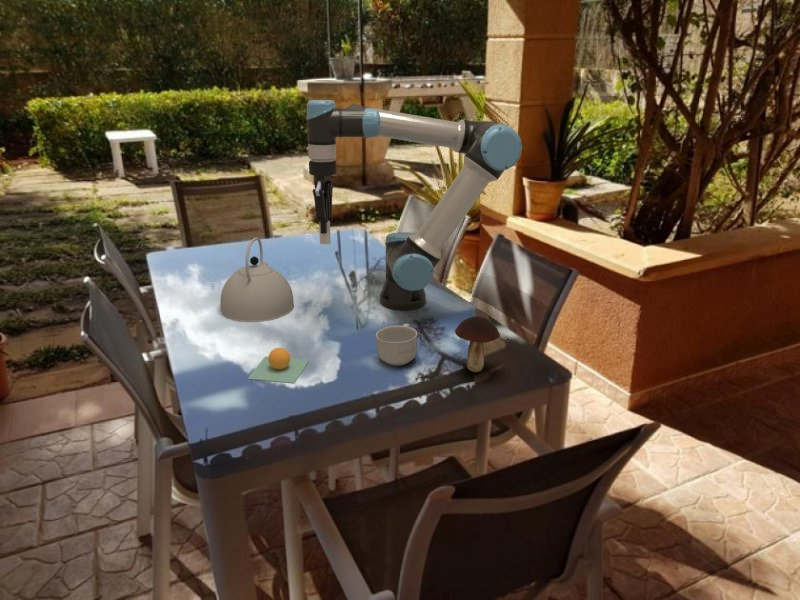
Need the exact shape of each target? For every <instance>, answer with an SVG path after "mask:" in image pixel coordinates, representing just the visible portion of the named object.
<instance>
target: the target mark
mask: <svg viewBox="0 0 800 600" xmlns="http://www.w3.org/2000/svg"><path fill="white" fill-rule="evenodd" d="M268 357H269V356H264V357H263V358H262V359H261V361H260V362H259V363H258V365H257V366H256V367H255V368H254V370H253V371H252V372H251V373H250V374H249V376H248V377H247V380H252V381H263V382H265V381H266V382H273V383H275V382H276V383H286V384H296V382H297V380H299V378H300V376H301V375H302V373H303V371H304V369H305V368H306V367H307V365H308V364H309V362H310V360H309V359H299V358H298V359H296V358H290V363H289V365H288V366H287V367H286V368H284V369H275V368H273V367H272V366H271V365H270V364H269V361H268Z"/></svg>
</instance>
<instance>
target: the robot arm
mask: <svg viewBox="0 0 800 600" xmlns="http://www.w3.org/2000/svg"><path fill="white" fill-rule="evenodd" d="M306 130H307V131H306V133H307V146H306V148H305V149H306V150H307V151H308V152H307V153H308V159H310V160H309V161H308V172H309V175H310V176H314V177H315V181H314V188H313V189H312V195H313V199H314V209H315V217H316V220H315V222H316V223H317V222H318V225H319V226H318V227H319V244H320V245H330V244H331V221H333V220H334V217H333V213H332V212H333V191H334V190H333V189H334V182H333V181H332V180H331V176H335V175H336V174H337V171H338V170H337V160H335V159H337V141H336V139H337V138H366V139H369V138H377V137H381V138H388V139H394V140H399V141H400V140H401V141H407V142H411V143H412V142H413V143H419V144H425V145H431V146H437V147H443V148H449V149H453V151H454V152H455V153H459V154H463V155H464V157H463V159H464V165H463V166H462V169H461V170H460V171H459V172H458V174H457V175H456V177H455V178H454V180H453V181H452V183H451V184H450V186H449V187H448V188H447V190H445V193H444V194H443V196H442V197H441V198H440V200H439V201H438V202H437V204H436V205H435V207H434V208H433V210H432V211H431V212H430V214H429V216H428V217H427V218H426V220H425V221H424V223H423V224H422V225H421V227H420V228H419V230H418V231H417V232H410V231H409V232H408V231H407V232H406V231H405V232H403V231H402V232H392V233H388V234H387V235H386V237H385V242H384V245H385V276H384V277H385V280H384V282H383V285H382V289H381V291H380V293H379V294H380V295H379V303H380V305H382V306H383V307H386V308H387V309H391V308H392V310H397V309H399V310H398V311H410V310H416V309H419V308H421V307H423V305H424V304H425V305H426V303H427V294H426V291H425V288H426V287H428V286H429V284H430V283H431V282H432V280H433V278H434V274H435V268H436V267H437V265H438V264H439V262H440V261H441V259H442V254H441V253H442V249H443V248H444V246H445V245H446V244H447V243H448V241H449V240H450V238H451V236H452V235H453V234H454V233H455V231H456V229H457V228H458V227H459V226H460V224H461V223H462V221H464V220H463V219H465V218H466V215H467V214H468V213H469V211H470V210H471V209H472V207H473V206H474V204H475V203H476V202H477V200H478V199H479V197H480V196H481V195H482V193H483V192H484V190H485V189H486V187H487V186H488V185H489V184H490V183H491V182H496V181H498V180H499V179H500V177H501V176H502V174H503V173H504V172H505V171H507V170H510V169H511V168H513V167H514V166H515V165H516V164H517V163H518V161H519V160H520V158H521V155H522V151H523V145H522V139H521V137H520V135H519V134H518V132H517V131H515V129H513V128H512V127H510V126H508V125H507V124H503V123H498V122H496V121H487V120H486V121H485V120H484V121H483V120H467V119H459V120H458V121H452V120H447V119H446V120H445V119H440V118H433V117H427V116H421V115H416V114H415V115H414V114H410V113H404V112H398V111H391V110H386V109H380V108H373V107H369V106H368V107H367V106H363V105H360V104H354V103H353V104H350V105H348V106H346V107H345V108H341V107H336V102H335V101H334V100H331V99H330V100H329V99H313V100H312V99H311V100H309V101H308V102H307V104H306ZM425 305H424V306H425Z"/></svg>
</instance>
